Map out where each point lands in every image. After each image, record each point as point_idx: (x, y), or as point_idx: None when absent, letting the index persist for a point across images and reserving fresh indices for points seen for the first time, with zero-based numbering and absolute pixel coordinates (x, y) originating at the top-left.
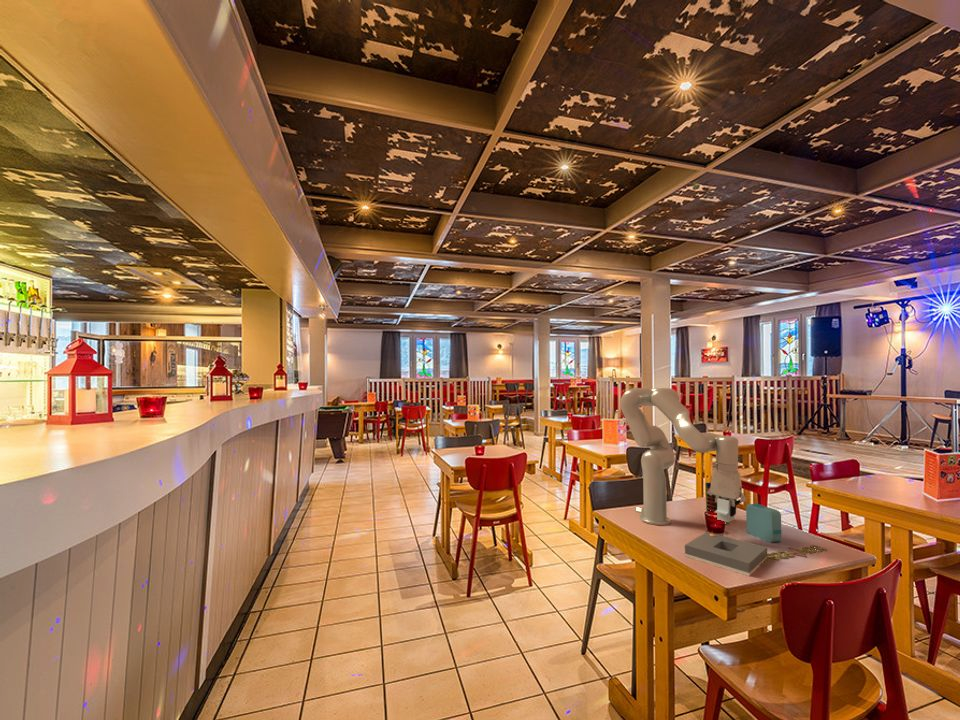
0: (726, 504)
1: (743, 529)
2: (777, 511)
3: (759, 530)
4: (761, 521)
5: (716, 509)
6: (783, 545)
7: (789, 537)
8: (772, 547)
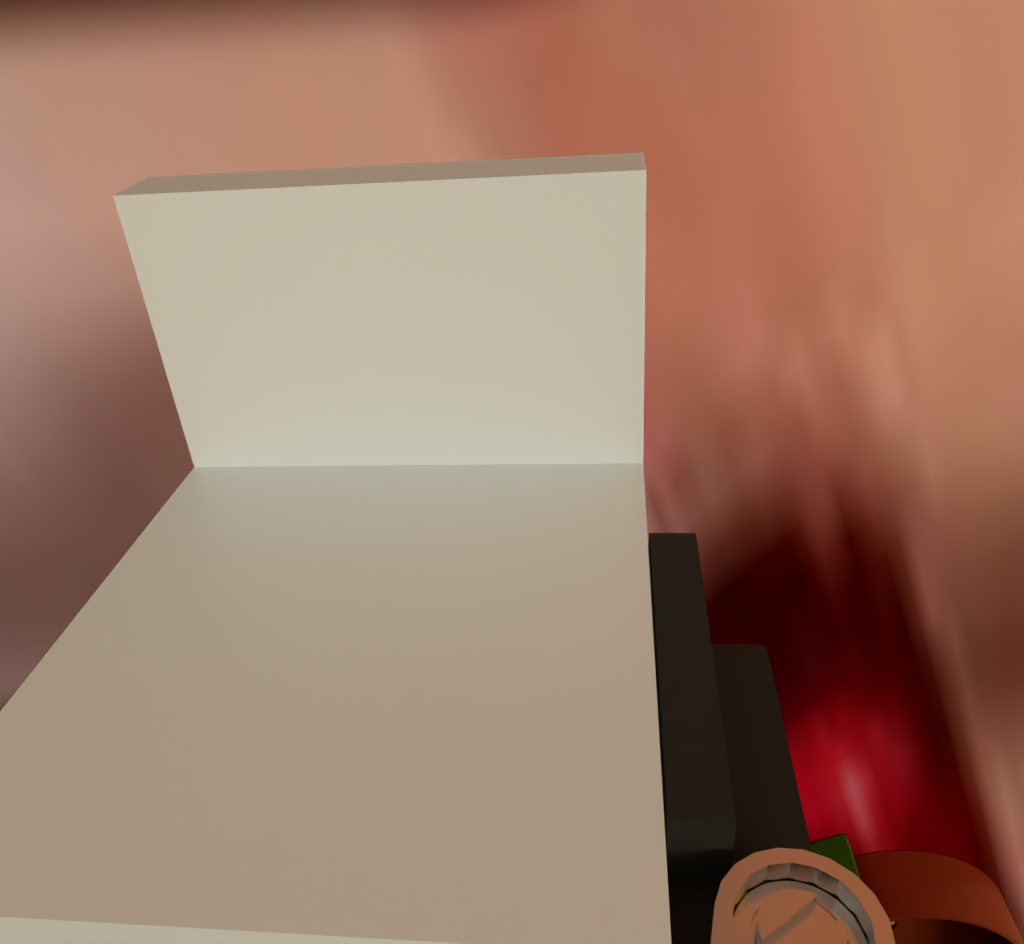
0: (114, 712)
1: None
2: None
3: None
4: None
5: (750, 650)
6: (17, 683)
7: None
8: (22, 536)
